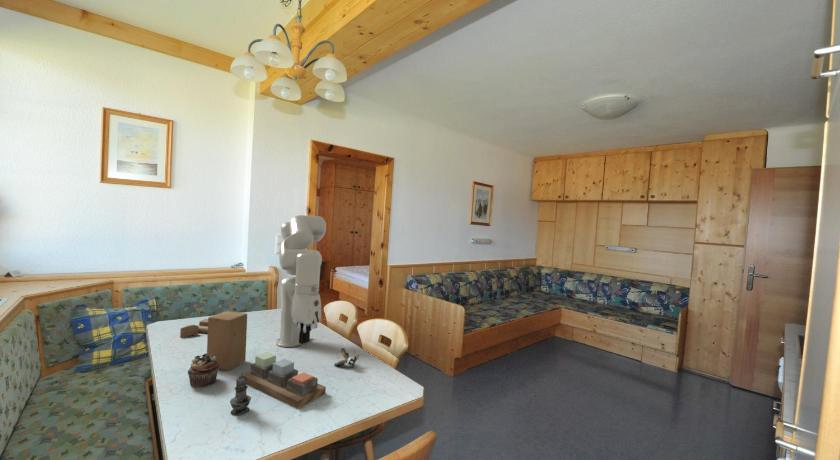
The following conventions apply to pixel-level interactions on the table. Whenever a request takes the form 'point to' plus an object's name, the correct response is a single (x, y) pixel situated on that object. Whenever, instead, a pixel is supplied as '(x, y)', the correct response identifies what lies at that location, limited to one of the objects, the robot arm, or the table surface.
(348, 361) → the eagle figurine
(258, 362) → the sage key
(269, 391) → the console
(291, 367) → the slate key
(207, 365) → the cupcake
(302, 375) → the red key
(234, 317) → the wooden block
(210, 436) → the table surface
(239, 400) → the grey tall stone piece
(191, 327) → the wooden block set
